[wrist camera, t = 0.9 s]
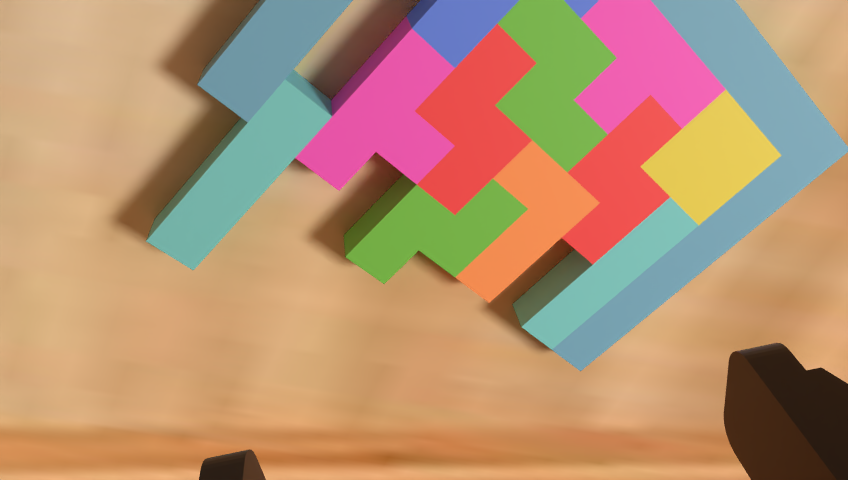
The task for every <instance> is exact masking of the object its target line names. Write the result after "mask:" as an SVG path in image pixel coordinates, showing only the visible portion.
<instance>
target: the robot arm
mask: <svg viewBox="0 0 848 480" xmlns="http://www.w3.org/2000/svg"><path fill="white" fill-rule="evenodd" d="M724 424H725V429H726V433H727V437H728V440H729V442H730V445H731V447H732V449H733V451H734V453H735V454H736V456H737V458H738V459H739V461H740V462H741V464H742V466H743V467H744V469H745V470H746V472H747V474H748V475H749V477H750V478H751V480H848V384H847V383H846V382H844V381H842V380H841V379H839V378H837V377H836V376H834V375H833V374H831V373H829V372H828V371H826V370H824V369H823V368H817V369H812V370H807V371H806V370H805V369H804V367H803V366H802V365H801V364H800V363H799V361H798V360H797V359H796V358H795V357H794V355H793V354H792V353H791V352H790V351H789V349H788V348H787V347H785V346H784V345H783V344H781V343H774V344H769V345H764V346H760V347H755V348H750V349H745V350H740V351H735V352H733V353H732V354H731V355H730V358H729V366H728V376H727V386H726V396H725V407H724ZM199 480H266V479H265V477H264V474H263V472H262V469H261V467H260V465H259V462H258V460H257V458H256V456H255V454H254V452H253V451H252V450H245V451H240V452H235V453H231V454H226V455H221V456H216V457H211V458H207V459H205V460H204V461H203V463H202V466H201V471H200V477H199Z"/></svg>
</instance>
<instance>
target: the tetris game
mask: <svg viewBox="0 0 848 480" xmlns="http://www.w3.org/2000/svg"><path fill="white" fill-rule="evenodd" d="M352 1H353V0H259V2H258V3H257V4H256V5H255V6H254V8H253V9H252V10H251V11H250V13H249V14H248V15H247V16H246V18H245V19H244V20H243V21H242V23H241V24H240V25H239V26H238V27H237V29H236V30H235V31H234V32H233V34H232V35H231V36H230V37H229V39H228V40H227V41H226V42H225V44H224V45H223V46H222V47H221V49H220V50H219V51H218V52H217V53H216V55H215V56H214V57H213V58H212V60H211V61H210V62H209V63H208V65H207V66H206V67H205V68H204V70H203V72H202V75H201V77H200V79H199V82H198V84H197V85H198V86H200V87H201V88H202V89H204V90H205V91H206V92H208V93H209V94H210V95H212V96H213V97H214V98H216V99H217V100H218V101H220V102H221V103H222V104H224V105H225V106H226V107H228V108H229V109H230V110H232V111H233V112H234V113H236V114H237V115H238V116H240V117H241V118H240V120H239V121H238V122H237V123H236V124H235V125H234V127H233V128H232V129H231V130H230V131H229V133H228V134H227V135H226V136H225V137H224V138H223V140H222V141H221V142H220V143H219V144H218V145H217V147H216V148H215V149H214V150H213V151H212V152H211V154H210V155H209V156H208V157H207V158H206V160H205V161H204V162H203V163H202V164H201V165H200V167H199V168H198V169H197V170H196V171H195V172H194V174H193V175H192V176H191V177H190V178H189V179H188V181H187V182H186V183H185V184H184V185H183V187H182V188H181V189H180V190H179V191H178V192H177V194H176V195H175V196H174V197H173V198H172V199H171V201H170V202H169V203H168V204H167V205H166V206H165V208H164V209H163V210H162V211H161V212H160V214H159V215H158V216H157V217H156V218H155V219H154V222H153V225H152V227H151V230H150V232H149V235H148V238H147V240H146V242H148V243H150V244H151V245H153V246H155V247H156V248H158V249H159V250H161V251H163V252H164V253H166V254H168V255H169V256H171V257H172V258H174V259H176V260H177V261H179V262H181V263H182V264H184V265H185V266H187V267H189V268H190V269H192V270H194V269H195V268H196V267H197V266H198V265H199V264H200V263H201V261H202V260H203V259H204V258H205V257H206V256H207V255H208V254H209V253H210V252H211V250H212V249H213V248H214V247H215V246H216V245H217V244H218V243H219V242H220V240H221V239H222V238H223V237H224V236H225V235H226V234H227V233H228V232H229V230H230V229H231V228H232V227H233V226H234V225H235V224H236V223H237V222H238V221H239V219H240V218H241V217H242V216H243V215H244V214H245V213H246V212H247V211H248V209H249V208H250V207H251V206H252V205H253V204H254V203H255V202H256V201H257V199H258V198H259V197H260V196H261V195H262V194H263V193H264V192H265V191H266V189H267V188H268V187H269V186H270V185H271V184H272V183H273V182H274V181H275V180H276V178H277V177H278V176H279V175H280V174H281V173H282V172H283V171H284V170H285V168H286V167H287V166H288V165H289V164H290V163H291V162H292V161H293V160H294V158H296V159H297V160H299V161H300V162H301V163H303V164H304V165H305V166H307V167H308V168H309V169H311V170H312V171H313V172H315V173H316V174H317V175H319V176H320V177H321V178H323V179H324V180H325V181H327V182H328V183H329V184H331V185H332V186H333V187H335V188H336V189H337V190H340V189H341V188H342V187H343V186H344V185H345V184H346V183H347V182H348V181H349V180H350V179H351V178H352V177H353V176H354V174H355V173H356V172H357V171H358V170H359V169H360V168H361V167H362V166H363V165H364V164H365V163H366V162H367V161H368V160H369V159H370V158H371V156H372V155H373V154H374V153H375V152H377V153H378V154H379V155H380V156H382V157H383V158H384V159H385V160H387V161H388V162H389V163H390V164H392V165H393V166H394V167H395V168H397V169H398V170H399V171H400V172H402V173H403V175H402V176H401V177H400V178H399V179H398V180H397V181H396V182H395V183H394V184H393V185H392V186H391V187H390V188H389V189H388V190H387V191H386V192H385V193H384V195H383V196H382V197H381V198H380V199H379V200H378V201H377V202H376V203H375V204H374V205H373V206H372V207H371V208H370V209H369V210H368V211H367V212H366V213H365V214H364V215H363V216H362V217H361V218H360V219H359V220H358V221H357V222H356V223H355V224H354V225H353V226H352V227H351V228H350V229H349V230H348V231H347V232H346V233H345V235H344V247H345V257H346V258H348V259H349V260H350V261H352V262H353V263H355V264H356V265H358V266H359V267H360V268H362V269H363V270H365V271H366V272H368V273H369V274H370V275H372V276H373V277H375V278H376V279H378V280H379V281H380V282H382V283H383V284H385V283H386V282H387V281H388V280H389V279H390V278H391V277H392V276H393V275H394V274H395V273H396V272H397V271H398V270H399V269H400V268H401V267H402V266H403V265H404V264H405V263H406V262H407V261H408V260H409V259H410V258H411V257H413V256H414V255H415V254H416V253H417V252H418V251H420V252H422V253H423V254H424V255H426V256H427V257H428V258H430V259H431V260H432V261H434V262H435V263H436V264H438V265H439V266H440V267H442V268H443V269H444V270H446V271H447V272H448V273H450V274H451V275H452V276H454V277H455V278H456V279H458V280H459V281H460V282H462V283H463V284H464V285H466V286H467V287H469V288H470V289H471V290H473V291H474V292H475V293H477V294H478V295H479V296H481V297H482V298H483V299H485V300H486V301H487V302H489V303H490V302H491V301H492V300H493V299H494V298H495V297H496V296H498V295H499V294H500V293H501V292H502V291H503V290H504V289H505V288H506V287H507V286H509V285H510V284H511V283H512V282H513V281H514V280H515V279H516V278H517V277H519V276H520V275H521V274H522V273H523V272H524V271H525V270H526V269H527V268H529V267H530V266H531V265H532V264H533V263H534V262H535V261H536V260H537V259H539V258H540V257H541V256H542V255H543V254H544V253H545V252H546V251H547V250H548V249H550V248H551V247H552V246H553V245H554V244H555V243H556V242H557V241H558V240H560V239H561V238H563V239H564V240H565V241H566V242H567V243H568V244H570V245H571V246H572V247H573V248H574V250H573V251H572V252H571V253H570V254H568V255H567V256H566V257H565V258H564V259H563V260H562V261H561V262H559V263H558V264H557V265H556V266H555V267H554V268H553V269H552V270H550V271H549V272H548V273H547V274H546V275H545V276H544V277H543V278H541V279H540V280H539V281H538V282H537V283H536V284H535V285H534V286H532V287H531V288H530V289H529V290H528V291H527V292H526V293H525V294H523V295H522V296H521V297H520V298H519V299H518V300H517V301H516V302H514V303H513V304H512V305H513V307H514V310H515V312H516V315H517V317H518V320H519V322H520V325H521V327H522V328H523V329H525V330H526V331H527V332H529V333H530V334H531V335H533V336H534V337H535V338H537V339H538V340H539V341H541V342H542V343H543V344H545V345H546V346H547V347H549V348H550V349H551V350H553V351H554V352H555V353H557V354H558V355H559V356H561V357H562V358H563V359H565V360H566V361H568V362H569V363H570V364H572V365H573V366H574V367H576V368H577V369H578V370H580V371H581V370H583V369H584V368H585V367H586V366H587V365H589V364H590V363H591V362H592V361H594V360H595V359H596V358H597V357H598V356H600V355H601V354H602V353H603V352H605V351H606V350H607V349H608V348H609V347H611V346H612V345H613V344H614V343H616V342H617V341H618V340H619V339H620V338H622V337H623V336H624V335H625V334H626V333H628V332H629V331H630V330H631V329H633V328H634V327H635V326H636V325H637V324H639V323H640V322H641V321H642V320H644V319H645V318H646V317H647V316H648V315H650V314H651V313H652V312H653V311H655V310H656V309H657V308H658V307H659V306H661V305H662V304H663V303H664V302H666V301H667V300H668V299H669V298H670V297H672V296H673V295H674V294H675V293H676V292H678V291H679V290H680V289H681V288H683V287H684V286H685V285H686V284H687V283H689V282H690V281H691V280H692V279H694V278H695V277H696V276H697V275H698V274H700V273H701V272H702V271H703V270H705V269H706V268H707V267H708V266H709V265H711V264H712V263H713V262H714V261H715V260H717V259H718V258H719V257H720V256H722V255H723V254H724V253H725V252H726V251H728V250H729V249H730V248H731V247H733V246H734V245H735V244H736V243H737V242H739V241H740V240H741V239H742V238H744V237H745V236H746V235H747V234H748V233H750V232H751V231H752V230H753V229H754V228H756V227H757V226H758V225H759V224H761V223H762V222H763V221H764V220H765V219H767V218H768V217H769V216H770V215H772V214H773V213H774V212H775V211H776V210H778V209H779V208H780V207H781V206H783V205H784V204H785V203H786V202H787V201H789V200H790V199H791V198H792V197H793V196H795V195H796V194H797V193H798V192H800V191H801V190H802V189H803V188H804V187H806V186H807V185H808V184H809V183H811V182H812V181H813V180H814V179H815V178H817V177H818V176H819V175H820V174H822V173H823V172H824V171H825V170H826V169H828V168H829V167H830V166H831V165H832V164H834V163H835V162H836V161H837V160H839V159H840V158H841V157H842V156H843V155H845V154H846V153H847V152H848V147H847V145H846V144H845V143H844V141H843V140H842V139H841V138H840V136H839V135H838V134H837V132H836V131H835V130H834V128H833V127H832V126H831V125H830V123H829V122H828V121H827V119H826V118H825V117H824V115H823V114H822V113H821V112H820V110H819V109H818V108H817V106H816V105H815V104H814V102H813V101H812V100H811V99H810V97H809V96H808V95H807V93H806V92H805V91H804V89H803V88H802V87H801V86H800V84H799V83H798V82H797V80H796V79H795V78H794V76H793V75H792V74H791V73H790V71H789V70H788V69H787V67H786V66H785V65H784V63H783V62H782V61H781V60H780V58H779V57H778V56H777V54H776V53H775V52H774V50H773V49H772V48H771V47H770V45H769V44H768V43H767V41H766V40H765V39H764V37H763V36H762V35H761V34H760V32H759V31H758V30H757V28H756V27H755V26H754V24H753V23H752V22H751V21H750V19H749V18H748V17H747V15H746V14H745V13H744V11H743V10H742V9H741V8H740V6H739V5H738V4H737V2H736V1H735V0H420V1H419V2H418V4H417V5H416V6H415V7H414V8H413V9H412V10H411V11H410V13H409V14H408V15H407V16H406V17H405V18H404V19H403V20H402V22H401V23H400V24H399V25H398V26H397V27H396V28H395V29H394V30H393V32H392V33H391V34H390V35H389V36H388V37H387V38H386V39H385V41H384V42H383V43H382V44H381V45H380V46H379V47H378V48H377V49H376V51H375V52H374V53H373V54H372V55H371V56H370V57H369V58H368V60H367V61H366V62H365V63H364V64H363V65H362V66H361V67H360V69H359V70H358V71H357V72H356V73H355V74H354V75H353V76H352V77H351V79H350V80H349V81H348V82H347V83H346V84H345V85H344V86H343V88H342V89H341V90H340V91H339V92H338V93H337V94H336V95H335V96H334V98H333V99H332V100H330V99H329V98H328V97H327V96H325V95H324V94H323V93H322V92H320V91H319V90H318V89H317V88H315V87H314V86H313V85H312V84H311V83H309V82H308V81H307V80H306V79H304V78H303V77H302V76H301V75H299V74H298V73H297V72H296V71H295V70H293V69H294V68H295V67H296V66H297V65H298V64H299V62H300V61H301V60H302V59H303V58H304V57H305V55H306V54H307V53H308V52H309V51H310V50H311V49H312V47H313V46H314V45H315V44H316V43H317V42H318V40H319V39H320V38H321V37H322V36H323V35H324V33H325V32H326V31H327V30H328V29H329V28H330V26H331V25H332V24H333V23H334V22H335V21H336V19H337V18H338V17H339V16H340V15H341V14H342V12H343V11H344V10H345V9H346V8H347V7H348V5H349V4H350V3H351V2H352Z"/></svg>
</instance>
